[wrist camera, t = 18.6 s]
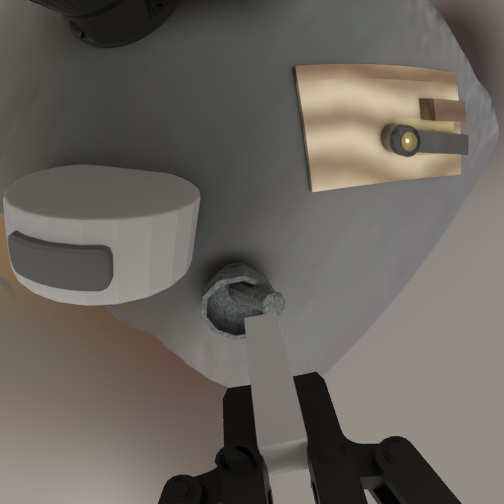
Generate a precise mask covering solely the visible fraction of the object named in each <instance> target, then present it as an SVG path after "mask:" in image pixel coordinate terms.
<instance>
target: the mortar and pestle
mask: <svg viewBox="0 0 504 504" xmlns="http://www.w3.org/2000/svg"><path fill="white" fill-rule="evenodd" d="M284 308H285V299H284V297H283V296H282V294H281V293H278V292H275V291H274V290H273V288H272V286H271V285H270V283H269V282H268V280H267V278H266V277H265V275H264V274H263V273H260V272H258V271H255V270H254V268H253V267H251V266H249V265H246V264H244V263H241V262H238V263H233V264H228V265H226V266H225V267H224V268H223V269H222V270H220V271H219V272H218V273H217V274H216V275H215V276H214V277H213V278H212V279H211V280H210V281H209V282H208V283H207V284H206V285H205V287H204V289H203V292H202V307H201V318H202V319H203V320H204V322H205V323H206V324H207V325H208V326H209V328H210V329H211V330H212V331H213V332H214V333H215V334H218V335H222V336H225V337H228V338H231V339H235V340H238V339H243V338H246V332H245V322H244V318H247V317H253V316H258V315H264V314H269V313H274V312H277V315H280V314H281V313H282V311H283V310H284Z"/></svg>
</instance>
